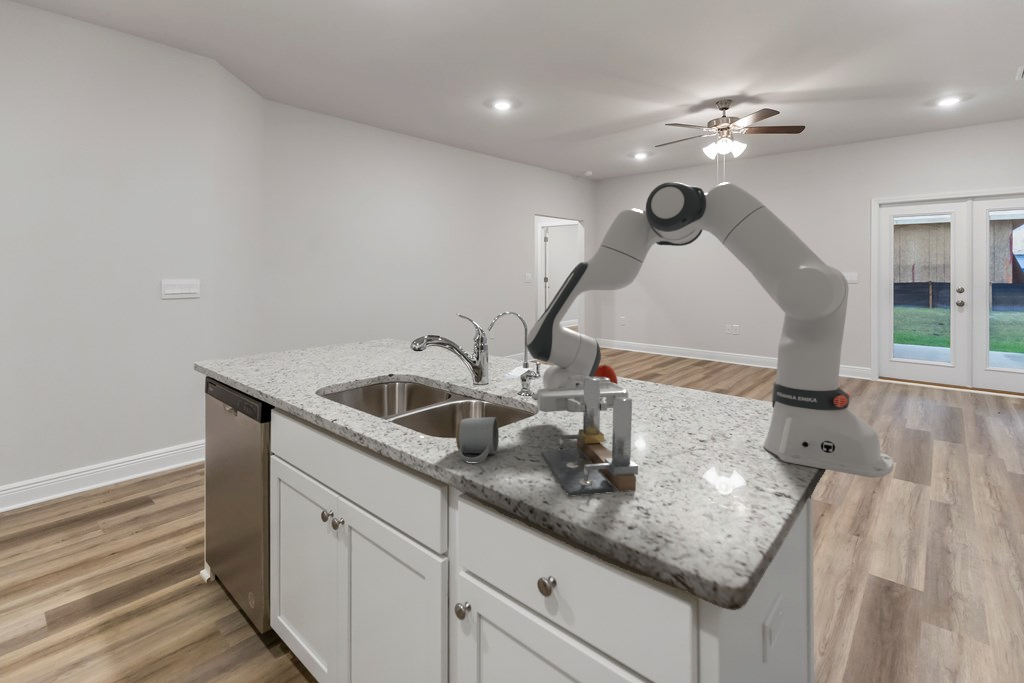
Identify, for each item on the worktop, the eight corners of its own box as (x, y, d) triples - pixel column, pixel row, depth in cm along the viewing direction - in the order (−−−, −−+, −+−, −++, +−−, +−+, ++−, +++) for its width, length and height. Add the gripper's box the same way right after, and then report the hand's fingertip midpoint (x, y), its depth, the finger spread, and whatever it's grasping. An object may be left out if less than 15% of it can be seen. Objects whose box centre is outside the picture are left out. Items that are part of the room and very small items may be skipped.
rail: (576, 445, 109) (577, 434, 108) (589, 444, 109) (590, 433, 109) (619, 491, 85) (619, 478, 85) (635, 490, 86) (635, 476, 85)
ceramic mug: (462, 445, 109) (461, 411, 108) (499, 446, 108) (498, 412, 107) (451, 464, 99) (450, 427, 97) (492, 466, 98) (491, 428, 96)
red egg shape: (622, 401, 146) (623, 365, 145) (596, 402, 145) (597, 366, 143) (610, 394, 154) (611, 360, 153) (586, 396, 153) (586, 362, 151)
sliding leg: (556, 445, 105) (556, 378, 103) (596, 442, 106) (597, 376, 104) (562, 452, 100) (562, 383, 98) (603, 449, 102) (605, 381, 100)
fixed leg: (579, 475, 89) (580, 398, 87) (627, 471, 91) (629, 396, 89) (587, 485, 85) (589, 404, 83) (637, 481, 86) (639, 402, 84)
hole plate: (541, 454, 103) (541, 450, 103) (578, 451, 104) (578, 447, 104) (569, 496, 84) (569, 490, 83) (613, 492, 85) (613, 487, 85)
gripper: (529, 381, 113) (544, 395, 99) (614, 377, 117) (639, 390, 103) (529, 407, 114) (544, 425, 100) (613, 403, 117) (638, 419, 104)
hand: (593, 407), depth 102 cm, fingers closed on sliding leg, 3 cm apart
